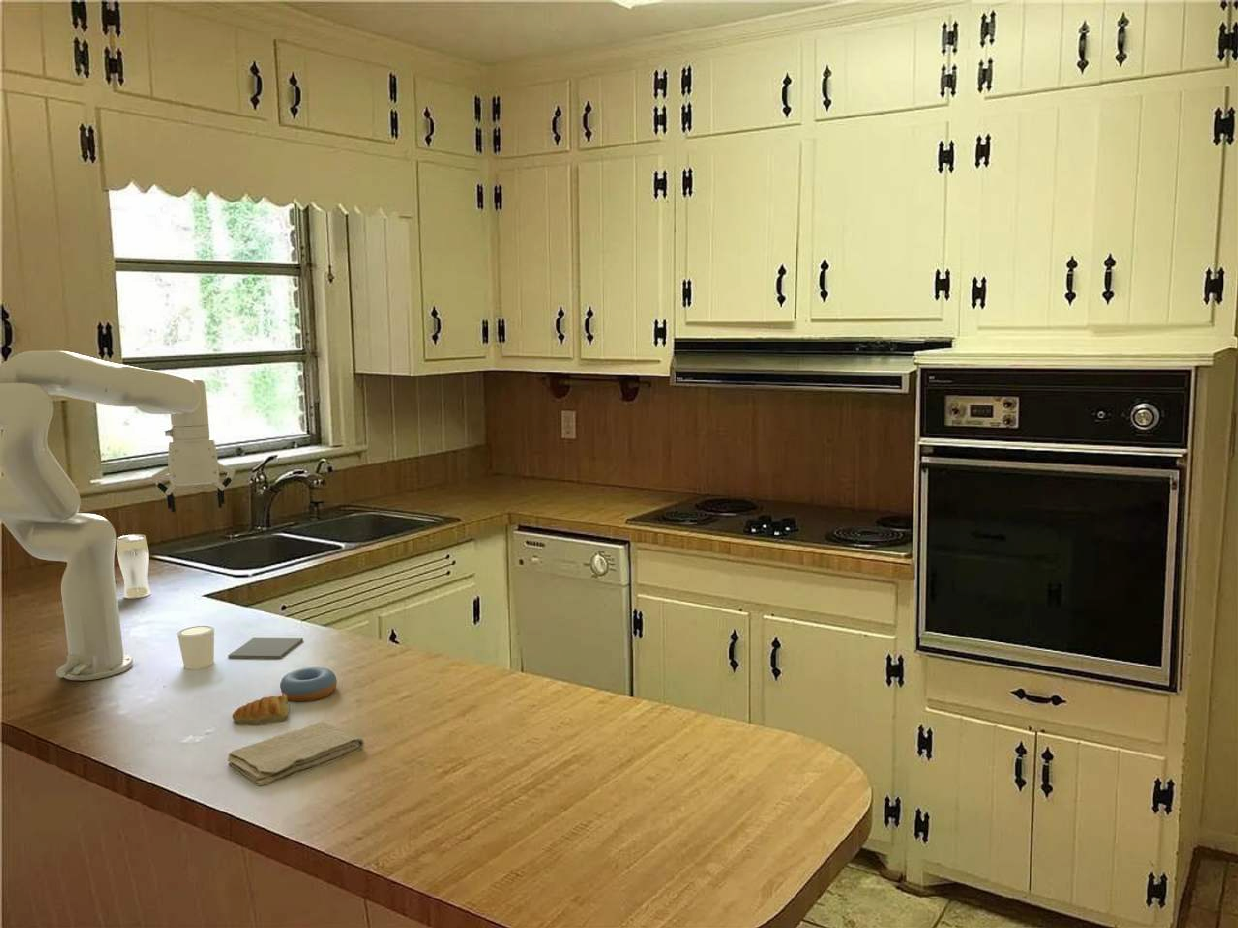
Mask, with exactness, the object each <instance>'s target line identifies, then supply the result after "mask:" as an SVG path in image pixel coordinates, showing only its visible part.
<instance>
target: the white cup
mask: <svg viewBox="0 0 1238 928" xmlns="http://www.w3.org/2000/svg"><path fill="white" fill-rule="evenodd" d="M214 631H215V628H214V627H213V626H211V625H210V626H208V625H197V626H191V627H190V626H189V627H186V628H183V629H182V630H181V629H180V630H179V631H178V632H177V641H178V646H179V649H180V655H181V659H182V664H183V668H184V667H185V668H184V669H186V668H187V670H197V669H204V668H208V667H210V666H212V665H213V664H214V663H215V659H214V658H215V657H214V656H215V654H214V653H215V650H214V649H215V645H214V643H215V642H214V641H215V638H214V637H215V632H214ZM209 665H210V666H209ZM207 666H208V667H207ZM203 667H204V668H203Z"/></svg>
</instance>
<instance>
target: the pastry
mask: <svg viewBox="0 0 1238 928" xmlns="http://www.w3.org/2000/svg"><path fill="white" fill-rule="evenodd" d="M290 710H291V704H290V702H289V699H288V698H287V695H285V694H282V693H281V695H270V696H263V697H261V698H260V699H256V700H254V701H252V702H248V703H246V704H245V705H242V706H240V707H238V708H237V709H235V711H234V713H233V714H232V719H233V721H234V722H235V723H237V724H239V725H256V726H257V725H266V724H267V725H268V724H274V723H281V722H285V721H288V719H289V718H290Z"/></svg>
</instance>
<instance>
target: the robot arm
mask: <svg viewBox="0 0 1238 928" xmlns="http://www.w3.org/2000/svg"><path fill="white" fill-rule="evenodd" d="M206 390H207V389H206V383H205V381H204V379H203V378H201V377H184V376H181V375H176V374H173V373H169V372H164V371H159V370H158V371H157V370H152V369H146V368H142V367H141V368H139V367H136V366H130V365H125V364H119V363H115V362H112V361H111V362H110V361H105V360H102V359H98V358H94V357H90V356H87V355H82V354H79V353H76V352H71V351H65V350H52V349H51V350H50V349H49V350H27V351H23V352H20V353H18V354H15V355H14V356H12V357H10V358H9V359H7V360H6V361H4V362H2V363H1V364H0V430H2V434H1V437H0V470H1V472H2V474H3V475H2V476H1V477H0V521H1V522H2V523H3V525H4V526H5V527H6V528H7V530H8V531H9V532H10V533H11V535H12V536H13V537H14V538H15V540H16V541H17V542H18V543H19V545H20V546H21V547H22V549H24V550H25V551H26V552H27V553H28V554H29V555H31V556H32V557H34V558H36V559H39V560H46V561H51V562H64V563H66V568H65V570H64V572H63V575H62V577H61V582H60V583H61V584H60V593H61V600H62V610H63V618H64V626H65V634H66V635H65V636H66V642H67V643H66V645H67V650H68V655H66V662H65V664H63V665H62V666H59V667H58V668H56V669H55V675H56V676H57V677H58V678H64V679H66V680H70V681H91V680H99V679H103V678H108V677H112V676H116V675H118V674H120V673H123V672H126V671H127V670H128V669H130V668H131V667H132V666H133V663H134V661H133V656H131V655H128V654H125V653H124V651H123V650H124V649H123V641H122V631H121V621H120V615H119V614H120V611H119V602H118V594H117V593H118V592H117V587H116V586H117V585H116V575H115V574H116V573H115V557H116V556H115V554H116V549H117V533H116V529H115V527H114V525H113V524H112V522H110V521H109V520H108V518H107V519H106V518H105V517H103V516H101V515H97V514H95V513H85V512H83V513H81V512H80V513H79V511H80V509H81V505H82V499H81V496H80V493H79V491H78V489H77V487H76V486H75V484H74V483H73V481H72V479H71V478H70V477H69V476H68V475H67V473H66V472H65V470H64V469H63V468H62V466H61V465H60V464H59V462H58V461H57V459H56V458H55V456H54V455H53V453H52V452H51V450H50V447H49V445H48V444H49V443H48V435H49V429H50V425H51V421H52V418H53V413H54V402H53V399H52V397H51V395H52V396H59V397H66V398H70V399H75V400H81V401H86V402H90V403H93V404H94V403H96V404H100V405H105V406H114V407H135V408H137V410H139V411H140V412H143V413H145V414H151V415H170V420H171V427H170V428H168V429H165V430H164V432H165V433H164V435H165V437H171V438H172V440H169V443H168V456H167V459H168V460H167V461H168V462H167V464H168V466H166V467H165V468H162V469H161V470H159V471H157V472H155V473H154V474H152V475H151V480H152V481H153V483H154V484H155V485H156V487H157V488H158V489H159V490H160V491H161V492H163V493H164V494H166V500H167V509H170V510H171V513H176V511H177V510H176V501H175V494H174V493H173V492H174V491H175V489H176V488H177V487H185V486H187V487H188V486H189V487H190V486H196V485H197V486H198V485H199V486H200V485H210V484H211V485H212V484H213V485H214V486H215V487H217V489H216V490H215V492H216V505H217V508H218V509H222V508H223V505H224V504H225V489H226V488H227V487H228V486H229V485H230V483H231V482H232V481H233V478H234V476H235V473H236V469H235V468H232V467H230V466H227V465H225V464H222V463H219V462H218V460H219V459H218V454H217V453H218V452H217V448H216V443H215V440H214V438H211V437H210V427H209V426H210V425H209V417H208V415H209V414H208V404H207V403H208V401H207V391H206ZM219 470H220V471H222V472H224V473H227V474H226V477H225V478H224V479H223V480H222V481H221V480H219V479H220V471H219ZM167 474H168V478H169V481H170V483H169V484H168V485H165V484H164V483H163V482H162V481H161V478H162V477H164V476H166V475H167Z"/></svg>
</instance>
